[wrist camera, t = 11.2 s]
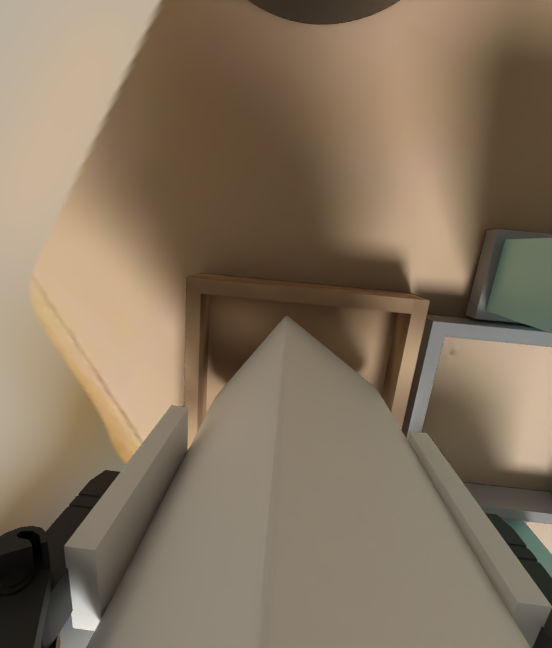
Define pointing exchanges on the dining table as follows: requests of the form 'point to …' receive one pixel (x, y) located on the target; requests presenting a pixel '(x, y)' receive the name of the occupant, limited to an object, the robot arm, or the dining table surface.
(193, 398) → the tray
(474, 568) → the milk carton
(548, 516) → the holder
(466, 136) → the dining table surface
